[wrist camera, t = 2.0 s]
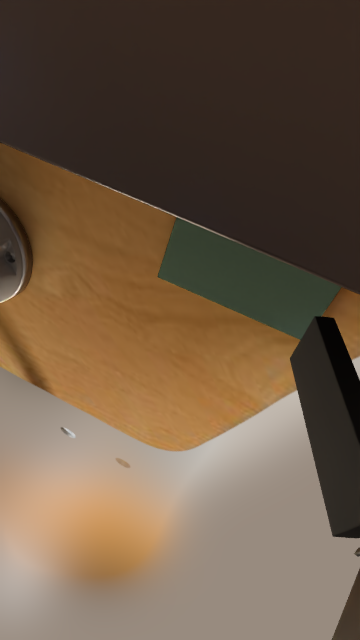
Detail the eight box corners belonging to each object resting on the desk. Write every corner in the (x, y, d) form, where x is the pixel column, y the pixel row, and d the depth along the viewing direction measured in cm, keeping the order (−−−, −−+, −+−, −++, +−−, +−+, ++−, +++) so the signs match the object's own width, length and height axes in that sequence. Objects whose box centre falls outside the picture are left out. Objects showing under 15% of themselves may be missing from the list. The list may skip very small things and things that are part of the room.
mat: (303, 339, 35) (304, 341, 34) (158, 275, 36) (157, 276, 36) (378, 229, 28) (380, 230, 28) (197, 156, 29) (196, 156, 29)
